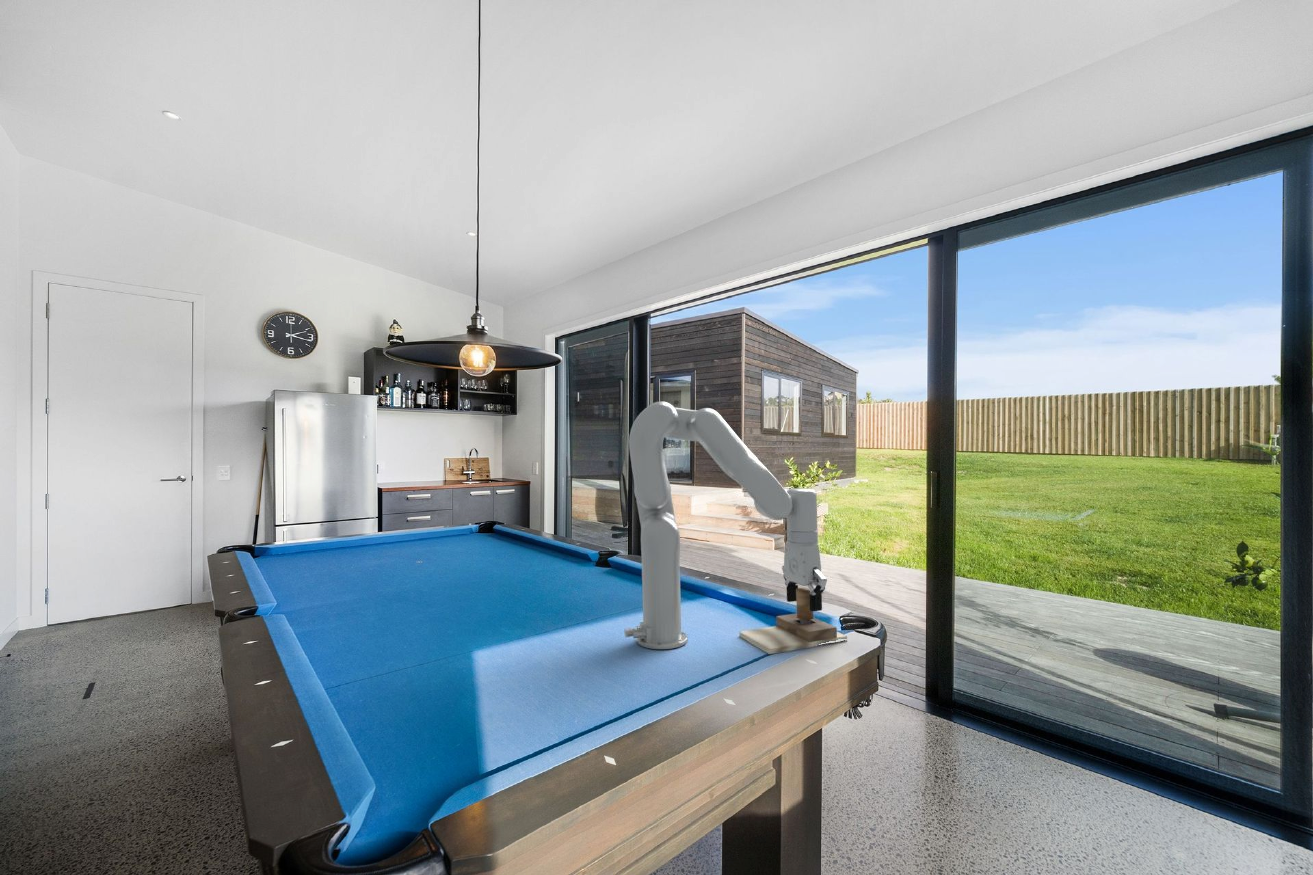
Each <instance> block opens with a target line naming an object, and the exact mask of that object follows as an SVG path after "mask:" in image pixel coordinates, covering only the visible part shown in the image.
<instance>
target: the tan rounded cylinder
mask: <svg viewBox="0 0 1313 875" xmlns="http://www.w3.org/2000/svg"><path fill="white" fill-rule="evenodd" d="M810 594H811V592H810V590H809V588H808V587H798V588H797V589H796V601H795V602H796V613H797V618H798V619H800V622H801V624H803V625H805V624H810V620H811V619H813V617H814V611H813V612H812V611H810V599H809V595H810Z"/></svg>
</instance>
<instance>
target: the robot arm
mask: <svg viewBox="0 0 1313 875" xmlns="http://www.w3.org/2000/svg"><path fill="white" fill-rule="evenodd" d="M665 438H668V439H675V440H681V441H690V442H698V443H699V444H700V445H701V447H703V449H704V450H705V451H706V452H707V453H708V454H709V456H710V457H711V458H712V459H713V461H714V462H715V463H716V465H718V467H719V468H720V469H721V470H722V472H724V473H725V474H726V475H727V476H728V478H731V479H732V480H733V481H735V482H736V483H737V484H739V486H741V488H743V490H744V491H745V492H746V493H747V494H748V495H749V496H750V497H751V499H752V500H753V502H754V504H753V505H754V508H755V510H756V511H757V512H758V513H759V515H761V516H763V517H766V518H768V519H770V520H772V521H782V520H784V519H786V542H785V548H784V557H783V559H784V560H783V565H781V571H782V573H783V579H784V580H785V582H784V584H785V586H786V602H788V603H790V602H796V589H797V588H799V585H800V586H802V587H803V586H804V587H806V586H807V588H809V590H810V592H811V594H810V595H809V599H810V611H812V612H813V613H814V612H817V611H818V612H820V611H822V610H823V599H822V598H823V597H822V596H823V594H824V591H825V590H826V585H827V582H828V579H827V577H826V576H824V574H823V573H822V566H821V565H822V564H821V554H820V548H819V540H818V538H819V536H818V533H819V532H818V530H819V529H818V502H817V501H818V500H817V499H818V498H817V495H818V494H817V493H816V490H814V489H813V488H804V487H803V488H798V487H797V488H796V487H795V488H791V489H785V488H784V487H783V485H782V484H781V483H780V482H779V481H778V479H777V478H776V477H775V476H774V475H773V473H771V472H770V471H769V469H768V468H767V467H766V466H765V465H764V464H763V463H762V462H761V461H760V460H759V459H758V457H757V456H756V455H755V454H754V453H753V452H752V451H751V450H750V449H749V448H748V446H746V444H745V442H743V441H742V440H741V439H740V437H739V436H738V434H736V432H735V431H734V430H733V429H732V427H731V426H730V425H729V424H728V423H727V422H726V420H725V419H724V418H723V416H722V415H721V414H720V413H719V412H718V411H716V410H715V409H713V408H710V407H703V408H699V409H697V410H696V409H687V408H681V407H675V406H674V405H673V404H671V403H670V402H667V401H664V400H663V401H655V402H653V403H651V404H650V405H648V406H647V407H646V408H644V409H643V410H642V411H641V412H639V415H637V417H636V418H635V420H634V421H633V423H632V426H631V428H630V433H629V438H628V439H629V443H628V446H629V447H628V448H629V456H630V462H631V471H632V477H633V478H632V479H633V484H634V488H633V492H634V496H635V498H636V501H635V502H636V507H637V512H638V518H639V523H640V551H641V552H640V553H641V580H642V582H641V583H642V622H639V625H637V626H636V628H635V627H633V628H632V627H631V628H625V629H624V636H625V638H629V637H632V638H633V639H637V641H636V642H637V643H638V645H639V646H641V647H643V648H646V649H650V650H671V649H675V648H680V647H682V646H684V645H686V644H687V642H688V640H689V639H688V638H689V637H688V634H686V633H685V632H683V631H682V615H681V614H682V609H681V608H682V605H681V604H682V603H681V598H682V597H681V576H680V575H681V569H680V568H681V567H680V566H681V565H680V557H681V556H680V548H681V547H680V546H681V544H680V543H681V536H680V529H679V526H678V524H677V520H676V516H675V515H676V514H675V510H674V502H673V499H672V489H671V488H672V486H671V483H670V481H669V478H668V472H667V468H666V460H665V453H664V446H663V444H664V440H665Z"/></svg>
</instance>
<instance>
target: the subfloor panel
mask: <svg viewBox="0 0 1313 875" xmlns="http://www.w3.org/2000/svg"><path fill="white" fill-rule="evenodd" d="M775 622H776V623H775V624H776V625H774V626H767V627H760V628H754V629H746V630H740V631H739V635H738V636H739V637H740V638H742V639H743V640H745V641H747V642H748V643H750V644H751V645H753V646H755V647H757V648H758V649H760V650H761V651H763V652H765V653H767V654H768V655H772V654H773V655H774V654H779V653H784V652H785V653H786V652H791V651H796V650H802V649H807V648H809V649H810V648H815V647H817V646H816V645H819V644H821V643H826V642H829V641H836V640H838V639H847V640H848V636H847V635H845V634H844V633H841V632H839V631H838V628H837V626H835V625H832V624H829V623H828V622H825V621H823V620H820V619H818V618H815V617H814V616H813V619H811V620H810V624H805V625H803V624H801V622H800V619H798V618H797V612H796V613H791V614H782V615H776V620H775ZM814 646H815V647H814Z"/></svg>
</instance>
